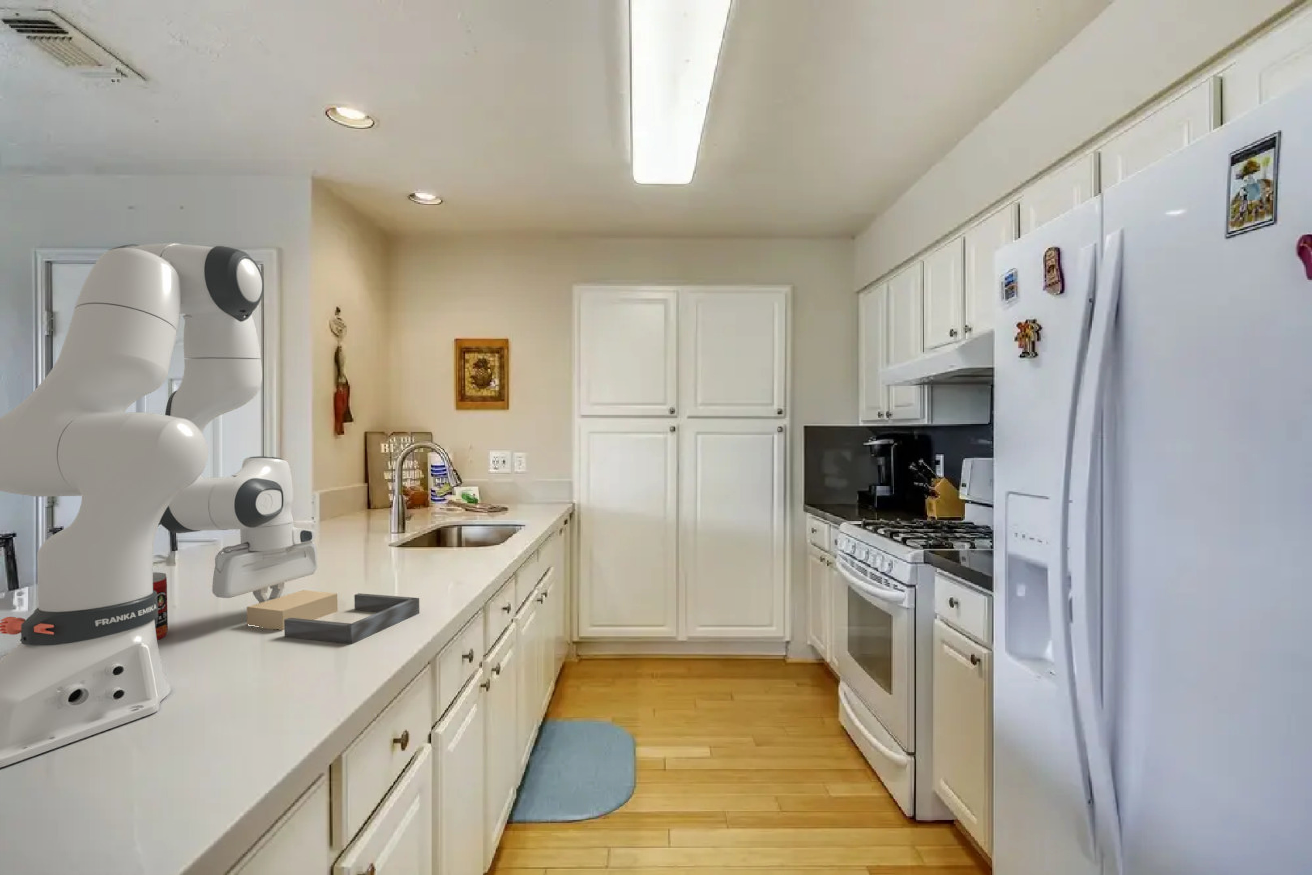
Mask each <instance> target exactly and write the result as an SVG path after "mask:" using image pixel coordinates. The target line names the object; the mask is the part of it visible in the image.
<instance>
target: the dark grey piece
mask: <svg viewBox="0 0 1312 875" xmlns="http://www.w3.org/2000/svg"><path fill="white" fill-rule="evenodd" d="M353 597H354V599H353V600H354V610H356V611H365V612H366V611H368V612H377V613H373V614H371V615H368V616H367V617H363V618H361V619H359V620H357V621H354V622H352V623H351V622H349V623H348V622H341V621H340V622H339V621H328V620H317V619H315V620H309V619H298V618H288V619H285V620H284V637H285V638H292V639H293V638H295V639H303V640H313V641H314V640H315V641H321V642H322V641H323V642H331V643H341V644H342V643H343V644H351V645H353V644H355V643H357V642H359V641H362V640H364V639H366V638H368V637H370V636H372V635H375V634H377V633H379V632H381V631H383V630H385V629H387V628H389V627H392V626H395V625H397V624H399V623H401V622H403V621H405V620H408V619H410V618H412V617H415V616H417V615H418V614H420V597H409V596H398V595H395V596H394V595H387V594H386V595H385V594H371V593H356V594H354V596H353Z"/></svg>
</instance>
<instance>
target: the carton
mask: <svg viewBox="0 0 1312 875" xmlns="http://www.w3.org/2000/svg"><path fill="white" fill-rule="evenodd" d="M338 611H339V610H338V593H335V592H324V591H315V590H305V589H304V590H299V591H297V592H293V593H290V594H287V595H283V596H282V595H281V596H280V597H279V598H275V599H272V600H269V601H265V602H262V603H259V602H258V603H256V604H251V605H249V606H246V623H247V624H246V625H248V624H249V625H255V626H259V627H263V628H262V629H265V628H269V629H268V630H273V629H279V630H278V631H281V630H284V620H285V619H288V618H298V619H309V620H317V619H320V618H323V617H326V616H329V615H331V614H333V613H337V612H338Z"/></svg>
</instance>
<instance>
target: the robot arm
mask: <svg viewBox="0 0 1312 875" xmlns="http://www.w3.org/2000/svg"><path fill="white" fill-rule="evenodd" d="M263 293H264V279H263V275H262V271H261V269H260V267H259V266H258V264H257V263H256V261H255V259H253V258H252V257H251V256H250V255H249V253H247V252H246V251H244V250H240V249H237V248H233V247H230V246H224V245H216V246H205V245H197V244H196V245H195V244H181V243H177V242H176V243H175V242H174V243H173V242H171V243H170V242H169V243H150V244H141V245H140V244H134V243H132V244H124V245H120V246H116V247H113V248H111V249H109V250H107V251H105V252H103V253H102V254H101V255H100V256H99V257H98V258H97V260H96V261H95V263H94V265H93V267H92V268H91V270H89V273H88V275H87V277H86V279H85V280H84V283H83V285H82V287H81V290H80V292H79V293H78V294H79V295H78V298H77V300H76V303H75V306H74V309H73V313H72V317H71V320H70V323H69V326H68V330H67V333H66V336H65V339H64V340H63V341H64V342H63V345H62V348H61V350H60V353H59V356H58V358H57V360H56V361H55V363H54V364H53V366H52V368H51V369H50V371H49V373H48V374H47V376H45V378H44V379H43V380H42V382H40V383H39V385H38V386H37V387H36V388H35V389H34V391H32V393H31V394H29V395H28V396H27V397H26V398H25V399H24V400H23V401H22V402H21V403H19V404H18V405H17V406H16V407H15V408H12V410H10V411H9V412H7V413H6V414H4V415H1V416H0V492H4V493H10V494H13V495H14V494H15V495H21V496H28V497H37V498H38V497H40V498H41V497H78V496H79V497H81V502H80V507H79V510H78V513H77V514H76V516H75V518H74V520H73V522H72V523H71V524H70V525H69V526H67V527H66V528H63V529H61V530H59V531H57V532H56V533H54V534H52V535H51V536H49V537H48V538H47V539H46V540H45V541H44V542H43V543H42V544H41V546H40V547H39V549H38V551H37V554H36V557H37V560H36V565H37V596H38V598H37V599H38V601H37V605H38V606H37V607H36V608H35V610H34V611H33V612H32V614H31V615H30V616H28V617H27V618H26V619H25V618H23V617H16V616H7V617H4V618H2V619H0V634H5V635H7V634H8V635H13V636H15V635H19V634H20V640H19V641H20V642H19V644H17V645H16V646H15V647H14V648H13V649H12V650H10V651H9V652H7V654H6V655H4V656H3V657H2V658H0V768H3V767H6V766H9V765H12V764H14V763H17V762H20V761H23V760H26V759H29V758H31V757H34V756H37V755H39V754H42V753H46V752H48V751H51V750H55V749H57V748H60V747H62V746H65V745H68V744H70V743H71V744H72V743H74V742H76V741H80V740H82V739H85V738H88V737H91V736H92V735H96V734H100V733H101V732H104V731H107V730H109V729H113V728H115V727H118V726H122V725H124V724H127V723H130V722H132V721H135V720H138V719H141V718H143V717H147V716H149V715H151V714H154V713H156V712H157V711H159V710H160V706H161V705H160V703H161V701H163V699H165V698H166V697H167V696H168V695H169V694H170V692H171V690H172V687H171V685H170V683H169V681H168V678H167V676H166V674H165V670H164V666H163V663H162V660H161V656H160V655H161V654H160V650H159V646H158V640H157V637H156V630H155V628H156V625H157V619H158V602H157V592H156V591H154V590H153V572H154V552H155V551H154V545H155V540H156V534H157V530H158V526H159V524H160V525H161V526H162V527H163V528H165V529H166V530H167V531H169V532H171V533H173V534H186V533H195V532H196V533H197V532H202V531H229V530H240V532H239V534H240V543H238V544H235V545H228V546H224V547H223V548H222V549H221V550H220V551H218V553H217V554H216V555H215V558H214V568H213V569H214V570H213V576H212V577H213V578H212V585H211V586H212V587H211V588H212V589H211V590H212V594H213V595H214V596H215V597H216V598H221V599H222V598H223V599H232V598H235V597H238V596H241V595H245V594H248V593H252V594H253V596H254V597H255V599H256V600H257V602H258V603H262V602H265V601H269V600H272V599H275V598H279V597H282V594H283V592H284V589H285V583H287V582H290V581H294V580H299V579H301V578H305V577H309V576H311V575H314V574H315V573H316V571H317V569H318V549H317V545H316V543H315V542H314V541H315V540H316V536H317V534H316V530H313V529H307V528H301V527H296V526H295V524H294V517H293V514H292V506H293V502H294V485H293V476H292V472H291V467H290V465H289V462H288V461H287V460H285V459H284V458H280V457H275V456H264V455H263V456H261V455H259V456H250V457H246V458H244V459H243V460H242V465H241V469H239V470H238V471H236V473H234V474H231V476H225V477H223V476H221V477H220V476H219V477H212V476H211V477H203V476H202V473H203V472H204V470H205V468H206V465H207V463H208V457H209V446H208V443H207V441H206V440H207V439H206V438H205V435H204V434H203V432H204V430H205V429H206V427H207V426H208V424H209V423H210V422H211V421H213V420H214V419H216V418H218V417H220V416H223V415H224V414H227V413H229V412H232V411H234V410H237V409H239V408H242V407H244V405H247V403H249V402H250V401H251V400H253V399H254V398H255V397H256V395H258V392H259V391H260V389H261V388H262V387H261V386H262V384H263V383H262V382H263V381H262V380H263V367H262V366H263V365H262V357H261V356H262V354H261V348H260V341H259V337H258V333H257V327H256V325H255V321H254V317H253V312H254V311H255V310H256V309H257V307H258V306H259V304H260V303H261V300H262V298H263ZM181 315H182V318H183V320H184V327H183V357H184V367H183V368H184V370H183V374H182V375H183V376H182V379H181V382H180V384H179V386H178V388H177V390H174V391H173V392H172V393H171V394H170V396H169V398H168V399H167V400H168V401H167V403H166V407H165V411H164V412H165V414H160V413H153V412H148V411H146V412H143V411H141V412H139V411H138V412H126V410H128V409H129V407H131V405H133V404H134V403H135V402H136V401H138V400H140V399H141V398H144V397H145V396H146V395H147V396H148V395H150V394H151V393H153V392H154V391H156V390H159V388H160V387H161V386H162V385H164V383H165V382H166V380H167V378H168V375H169V373H170V372H169V371H170V367H171V362H172V359H173V358H172V357H173V352H174V348H175V343H176V340H177V335H178V329H179V325H180V316H181ZM268 588H269V589H271V592H270V595H269V597H268V596H267V595H266V594H267V593H268V592H269V590H268Z"/></svg>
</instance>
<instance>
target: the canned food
mask: <svg viewBox="0 0 1312 875" xmlns="http://www.w3.org/2000/svg"><path fill="white" fill-rule="evenodd" d="M167 577H168V576H167V573H165V572H155V571H153V590H154V591H156V592H157V602H158V619H157V625H156V628H155V630H156V637H157V641H158V640H160V639H163V638H164V637H166V636H167V632H168V630H169V629H168V627H169V626H168V625H169V622H168V621H169V620H168V618H169V617H168V582H167V581H168V580H167V579H168V578H167Z"/></svg>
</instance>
